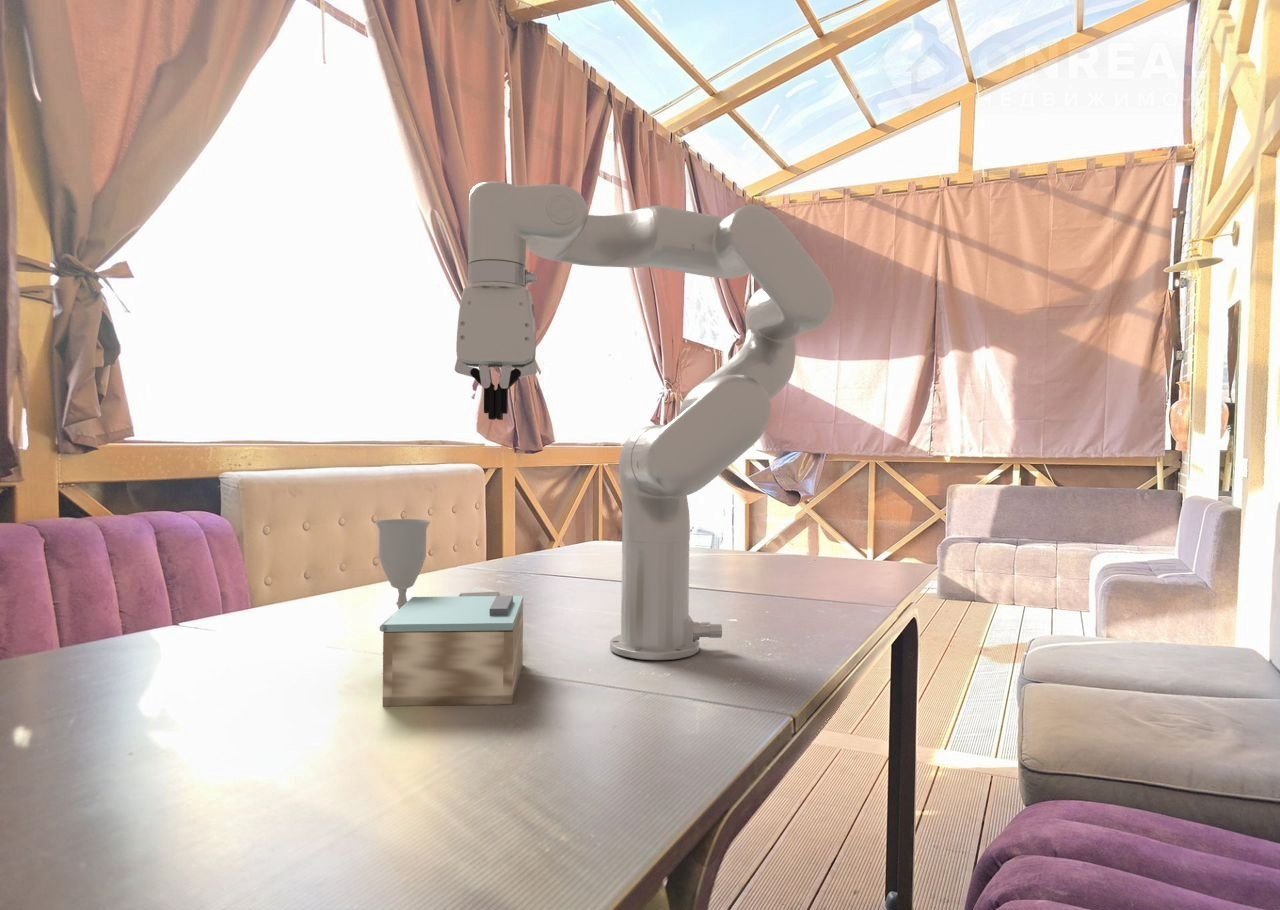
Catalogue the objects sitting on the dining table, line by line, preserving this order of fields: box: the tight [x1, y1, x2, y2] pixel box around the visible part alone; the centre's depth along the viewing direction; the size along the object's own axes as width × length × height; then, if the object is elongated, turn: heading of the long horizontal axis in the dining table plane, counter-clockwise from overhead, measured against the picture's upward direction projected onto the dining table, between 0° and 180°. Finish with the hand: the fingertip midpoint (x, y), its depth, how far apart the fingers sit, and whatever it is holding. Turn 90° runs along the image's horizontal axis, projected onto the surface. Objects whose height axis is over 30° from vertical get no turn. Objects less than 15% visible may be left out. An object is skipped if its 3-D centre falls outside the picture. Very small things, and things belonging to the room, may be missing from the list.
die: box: [457, 586, 502, 597], centre depth 112 cm, size 8×9×10 cm
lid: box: [379, 595, 524, 633], centre depth 94 cm, size 14×16×2 cm
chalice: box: [375, 518, 431, 610], centre depth 108 cm, size 7×7×18 cm
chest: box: [382, 603, 524, 707], centre depth 94 cm, size 14×16×8 cm
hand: (495, 419), depth 104 cm, fingers closed
